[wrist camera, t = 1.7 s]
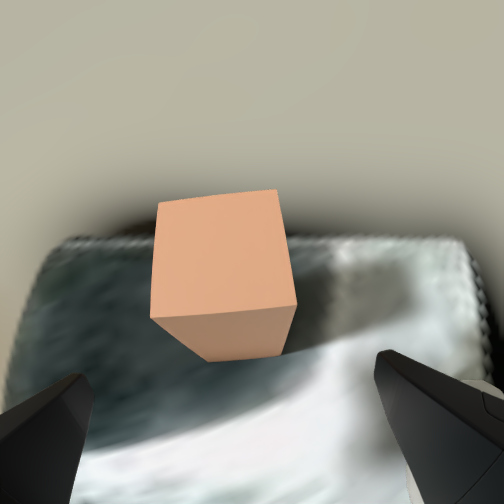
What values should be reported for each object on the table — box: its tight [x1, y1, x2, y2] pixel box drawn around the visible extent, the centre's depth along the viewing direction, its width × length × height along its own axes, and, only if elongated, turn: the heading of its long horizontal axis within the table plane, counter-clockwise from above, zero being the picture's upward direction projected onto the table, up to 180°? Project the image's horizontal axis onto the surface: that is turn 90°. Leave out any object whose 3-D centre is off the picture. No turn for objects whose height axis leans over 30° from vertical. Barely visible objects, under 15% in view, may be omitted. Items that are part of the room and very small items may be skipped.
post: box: [150, 189, 297, 362], centre depth 15 cm, size 5×5×11 cm
